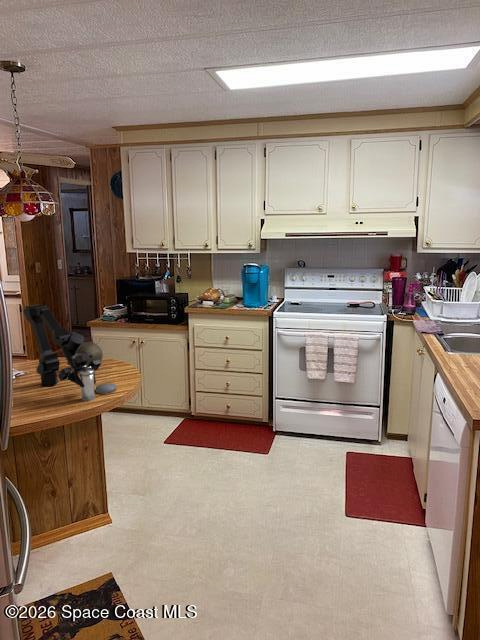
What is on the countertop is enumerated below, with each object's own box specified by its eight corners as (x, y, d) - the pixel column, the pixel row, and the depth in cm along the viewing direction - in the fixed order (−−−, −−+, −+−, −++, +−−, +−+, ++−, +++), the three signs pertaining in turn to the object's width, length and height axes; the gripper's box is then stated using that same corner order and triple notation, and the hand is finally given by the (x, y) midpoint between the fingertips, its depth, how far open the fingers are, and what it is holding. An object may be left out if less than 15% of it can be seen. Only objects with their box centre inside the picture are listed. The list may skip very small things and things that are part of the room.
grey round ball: (76, 376, 236) (73, 347, 233) (74, 368, 249) (72, 341, 246) (105, 372, 241) (102, 344, 238) (102, 364, 254) (100, 338, 251)
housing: (78, 401, 202) (76, 372, 199) (83, 396, 208) (81, 368, 206) (93, 401, 202) (91, 372, 199) (97, 396, 208) (95, 368, 206)
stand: (93, 394, 211) (93, 390, 210) (99, 387, 219) (98, 383, 219) (113, 394, 211) (113, 389, 210) (118, 387, 220) (118, 383, 219)
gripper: (59, 351, 196) (76, 381, 191) (97, 341, 210) (114, 369, 206) (51, 365, 202) (67, 395, 198) (88, 355, 216) (104, 383, 212)
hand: (89, 385), depth 203 cm, fingers closed on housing, 6 cm apart
